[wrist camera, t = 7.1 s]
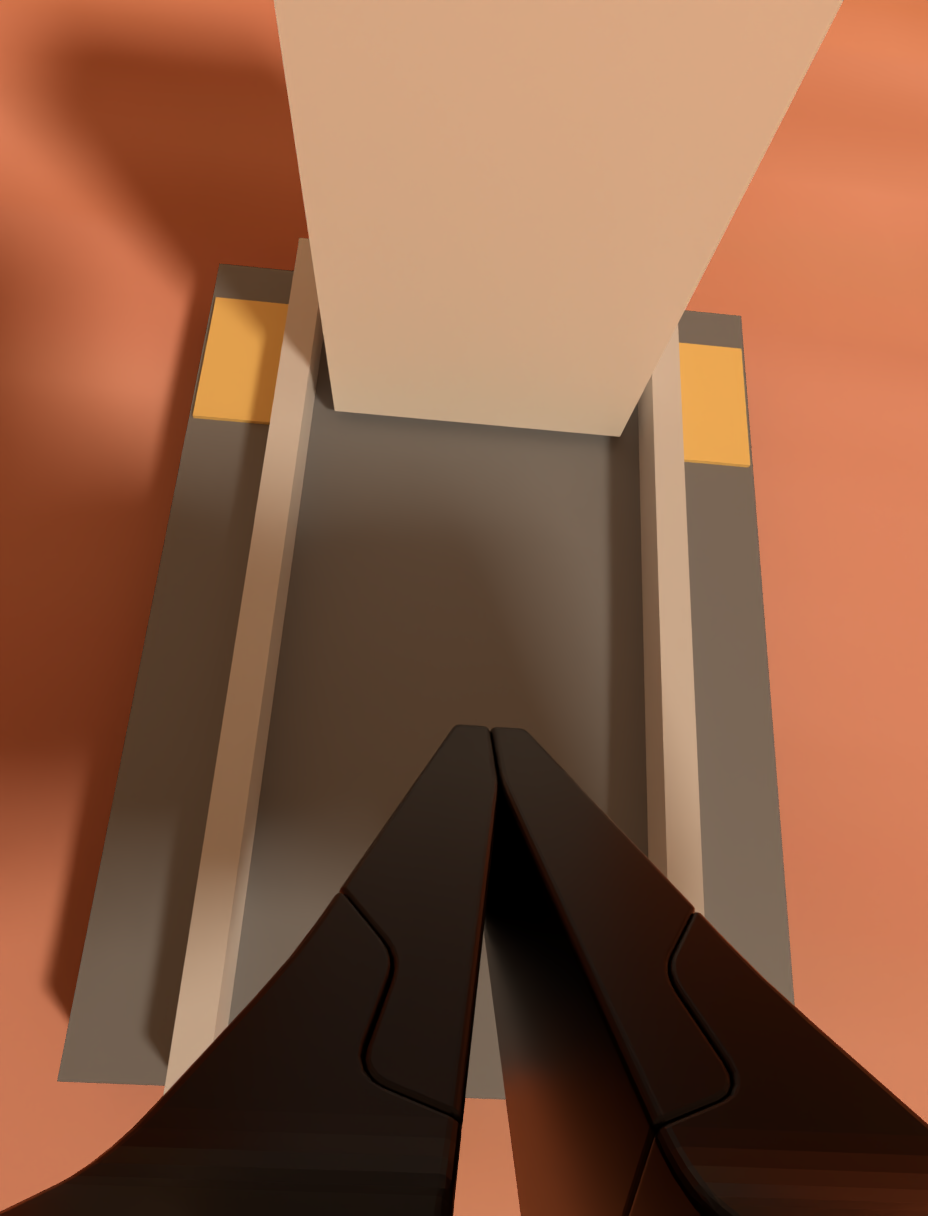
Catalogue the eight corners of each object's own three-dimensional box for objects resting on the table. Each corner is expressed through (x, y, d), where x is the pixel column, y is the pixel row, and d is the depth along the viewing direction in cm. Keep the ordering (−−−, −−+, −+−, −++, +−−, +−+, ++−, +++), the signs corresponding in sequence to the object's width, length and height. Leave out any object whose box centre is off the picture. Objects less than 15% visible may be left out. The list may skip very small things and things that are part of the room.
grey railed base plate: (761, 1085, 14) (835, 1131, 12) (94, 1057, 13) (26, 1099, 11) (716, 356, 19) (760, 285, 17) (233, 309, 18) (209, 228, 16)
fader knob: (629, 446, 16) (1033, -294, 6) (323, 418, 16) (175, -425, 5) (626, 313, 17) (963, -507, 7) (341, 285, 17) (245, -626, 6)
